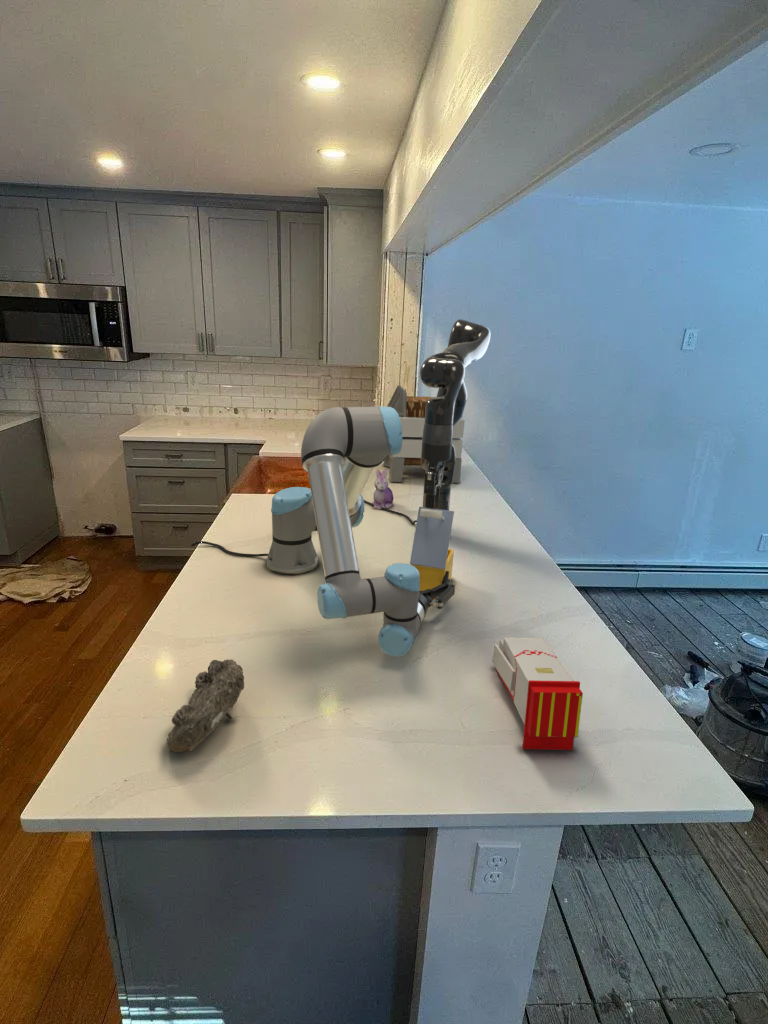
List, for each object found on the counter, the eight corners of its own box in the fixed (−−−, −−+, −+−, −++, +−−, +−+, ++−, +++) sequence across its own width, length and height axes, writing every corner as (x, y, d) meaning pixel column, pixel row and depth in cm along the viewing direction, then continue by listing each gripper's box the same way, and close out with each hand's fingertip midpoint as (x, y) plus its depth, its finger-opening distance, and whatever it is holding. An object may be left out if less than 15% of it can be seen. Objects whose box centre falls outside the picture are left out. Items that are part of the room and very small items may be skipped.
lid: (419, 507, 156) (414, 500, 148) (454, 511, 154) (450, 505, 145) (410, 563, 154) (404, 560, 145) (445, 569, 152) (440, 566, 143)
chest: (419, 573, 170) (421, 544, 167) (451, 578, 168) (453, 549, 165) (407, 596, 157) (409, 565, 154) (442, 602, 154) (444, 570, 151)
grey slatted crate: (382, 463, 289) (386, 382, 275) (445, 464, 293) (451, 384, 279) (390, 482, 257) (394, 392, 243) (460, 483, 261) (468, 394, 247)
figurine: (377, 511, 221) (379, 474, 216) (366, 503, 229) (367, 467, 224) (399, 508, 225) (401, 471, 220) (387, 500, 233) (388, 465, 228)
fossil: (192, 660, 117) (244, 628, 112) (224, 691, 120) (276, 661, 115) (142, 746, 98) (202, 712, 93) (182, 779, 101) (242, 748, 96)
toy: (540, 621, 128) (592, 689, 99) (535, 675, 131) (584, 757, 102) (487, 620, 128) (523, 687, 98) (483, 674, 130) (517, 756, 101)
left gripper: (365, 616, 140) (389, 578, 160) (454, 633, 135) (467, 591, 155) (366, 589, 138) (390, 554, 158) (457, 605, 132) (470, 566, 152)
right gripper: (446, 448, 134) (441, 515, 140) (456, 436, 147) (451, 498, 153) (416, 445, 136) (411, 511, 142) (428, 433, 149) (424, 494, 155)
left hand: (428, 572), depth 156 cm, fingers closed on chest, 10 cm apart
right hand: (432, 503), depth 148 cm, fingers open, 5 cm apart
